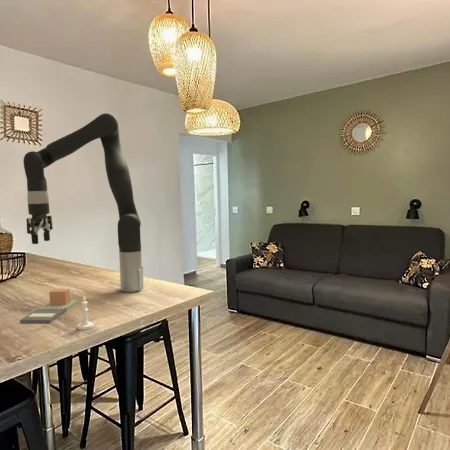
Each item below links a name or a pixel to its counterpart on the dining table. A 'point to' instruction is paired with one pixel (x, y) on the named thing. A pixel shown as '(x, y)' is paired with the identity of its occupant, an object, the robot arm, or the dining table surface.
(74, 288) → the dining table surface
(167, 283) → the dining table surface
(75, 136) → the robot arm
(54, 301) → the green plate orange block
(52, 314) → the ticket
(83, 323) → the chess piece
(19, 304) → the dining table surface
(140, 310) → the dining table surface
